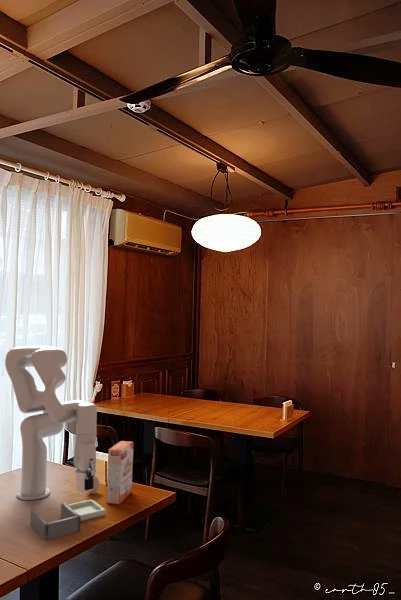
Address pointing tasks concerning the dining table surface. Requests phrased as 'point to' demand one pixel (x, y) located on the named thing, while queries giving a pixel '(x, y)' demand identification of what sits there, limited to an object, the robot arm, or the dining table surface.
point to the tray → (87, 509)
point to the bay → (56, 523)
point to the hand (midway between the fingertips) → (84, 486)
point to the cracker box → (119, 472)
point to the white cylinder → (81, 480)
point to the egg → (95, 485)
